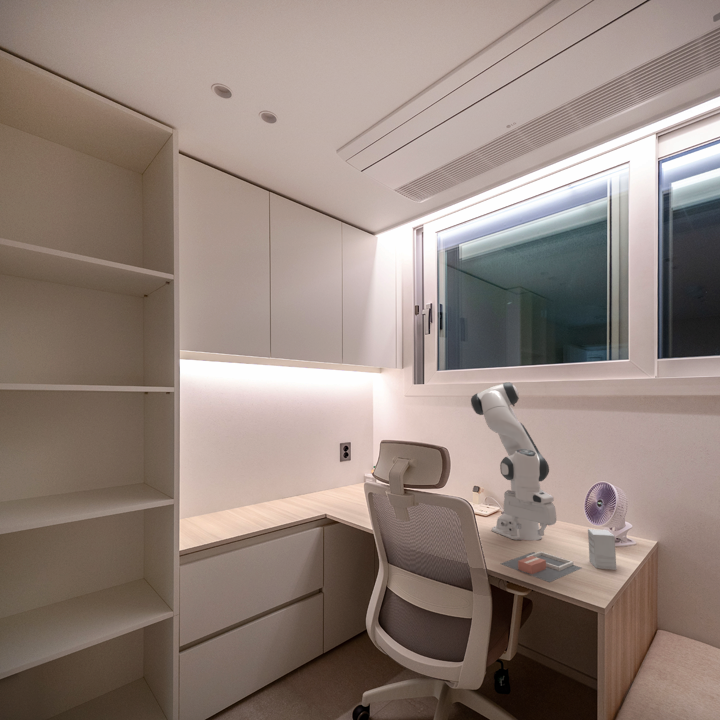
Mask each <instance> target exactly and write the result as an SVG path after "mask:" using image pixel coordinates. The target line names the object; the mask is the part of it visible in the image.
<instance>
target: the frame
mask: <svg viewBox="0 0 720 720" xmlns="http://www.w3.org/2000/svg"><path fill="white" fill-rule="evenodd" d="M541 555H542V556H545V557H548V558H551V559H554V560H557V561H560V562H563V563H566V564H563V565H561V566H559V567H558V566H555V565H552V564H549V563H546V567H549V568H552V569H555V570H558V571H561V570H563V569H565V568H568V567H570V566H572V565H574V561H572V560H569V559H566V558H562V557H559V556H557V555H553V554H550V553H547V552H544V551H538V552H535V554H532V555H529V556H526V558H528V557H530V556H534V557H538V556H541Z"/></svg>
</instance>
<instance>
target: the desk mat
mask: <svg viewBox="0 0 720 720" xmlns="http://www.w3.org/2000/svg"><path fill="white" fill-rule="evenodd" d="M535 553H536V552H534V551H533V552H532V551H531V552H529V553H527V554H524V555H521V556H518V557H516V558H513V559H510V560H507V561H504V562H501V563H500V565H503V566H505V567H508V568H510V569H513V570H516V571H518V572H521V573H524V574H526V575H529V576H531V577H533V578H537V579H540V580H542V581H545V582H547V583H551V582H554V581H556V580H558V579H560V578H562V577H566V576H568V575H569V574H572V573H574V572H576V571H579V570H582V567H581V566H577V565H572V566H570V567H568V568H565V569H563V570H561V571H558V570H555V569H552V568H549V567H546V569H544V570H542V571H539V572H537V573H534V574H530V573H527V572H524V571H522V570H519V569H518V561H519V560H522V559H525V558H526V556H529V555H532V554H535ZM537 558H540V559H543V560H546V563H549V564H552V565H555V566H558V567H559V566H561V565H563V564H566V563H563V562H560V561H557V560H554V559H551V558H548V557H545V556H542V555H541V556H538V557H537Z"/></svg>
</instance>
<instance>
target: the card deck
mask: <svg viewBox="0 0 720 720" xmlns="http://www.w3.org/2000/svg"><path fill="white" fill-rule="evenodd" d="M518 569H519V570H522V571H524V572H527V573H530V574H534V573H537V572H539V571H542V570H544V569H546V560H543V559H540V558H537V557H534V556H530V557H528V558H525V559H522V560H519V561H518Z"/></svg>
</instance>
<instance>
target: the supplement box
mask: <svg viewBox="0 0 720 720" xmlns="http://www.w3.org/2000/svg"><path fill="white" fill-rule="evenodd" d="M587 536H588V537H587V539H588V556H589V557H588V558H589V562H590V564H592V566H593V567H594V568H595V569H602V570H614V571H617V556H616V554H617V553H616V541H615V540H616V539H615V537H616V536H615V535H614V534H613V533H612V532H611V531H609V530H608V529H596V528H595V529H594V528H588V529H587Z"/></svg>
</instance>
